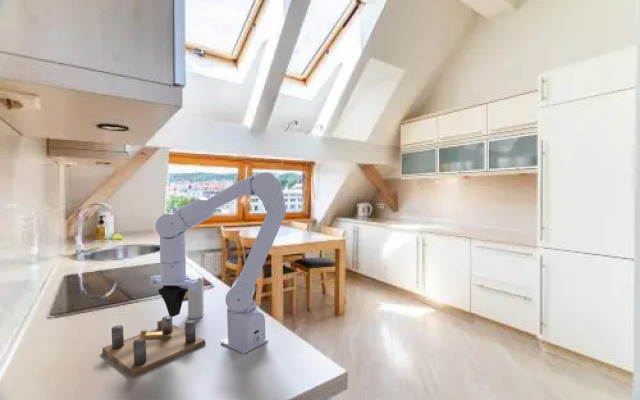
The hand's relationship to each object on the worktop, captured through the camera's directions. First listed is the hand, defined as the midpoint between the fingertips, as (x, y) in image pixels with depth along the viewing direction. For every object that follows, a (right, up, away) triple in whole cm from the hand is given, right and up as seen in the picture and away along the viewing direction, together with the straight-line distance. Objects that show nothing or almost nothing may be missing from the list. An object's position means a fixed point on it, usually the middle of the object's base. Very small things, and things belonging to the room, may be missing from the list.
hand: (174, 314), depth 79 cm
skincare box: (-2, -8, +20) cm, 22 cm away
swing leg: (-6, -7, +3) cm, 9 cm away
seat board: (-4, -8, -1) cm, 9 cm away
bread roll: (-14, -7, +38) cm, 41 cm away
